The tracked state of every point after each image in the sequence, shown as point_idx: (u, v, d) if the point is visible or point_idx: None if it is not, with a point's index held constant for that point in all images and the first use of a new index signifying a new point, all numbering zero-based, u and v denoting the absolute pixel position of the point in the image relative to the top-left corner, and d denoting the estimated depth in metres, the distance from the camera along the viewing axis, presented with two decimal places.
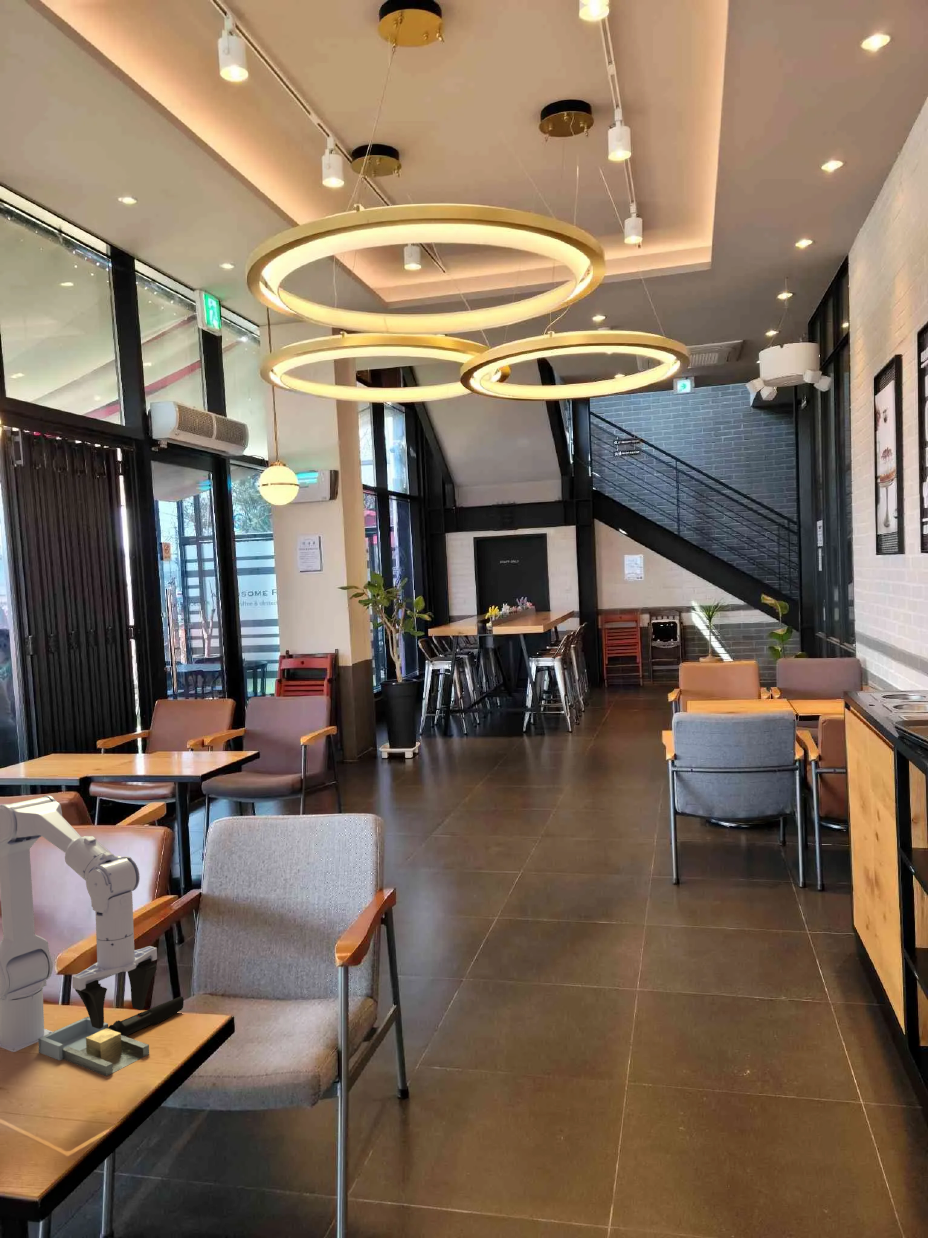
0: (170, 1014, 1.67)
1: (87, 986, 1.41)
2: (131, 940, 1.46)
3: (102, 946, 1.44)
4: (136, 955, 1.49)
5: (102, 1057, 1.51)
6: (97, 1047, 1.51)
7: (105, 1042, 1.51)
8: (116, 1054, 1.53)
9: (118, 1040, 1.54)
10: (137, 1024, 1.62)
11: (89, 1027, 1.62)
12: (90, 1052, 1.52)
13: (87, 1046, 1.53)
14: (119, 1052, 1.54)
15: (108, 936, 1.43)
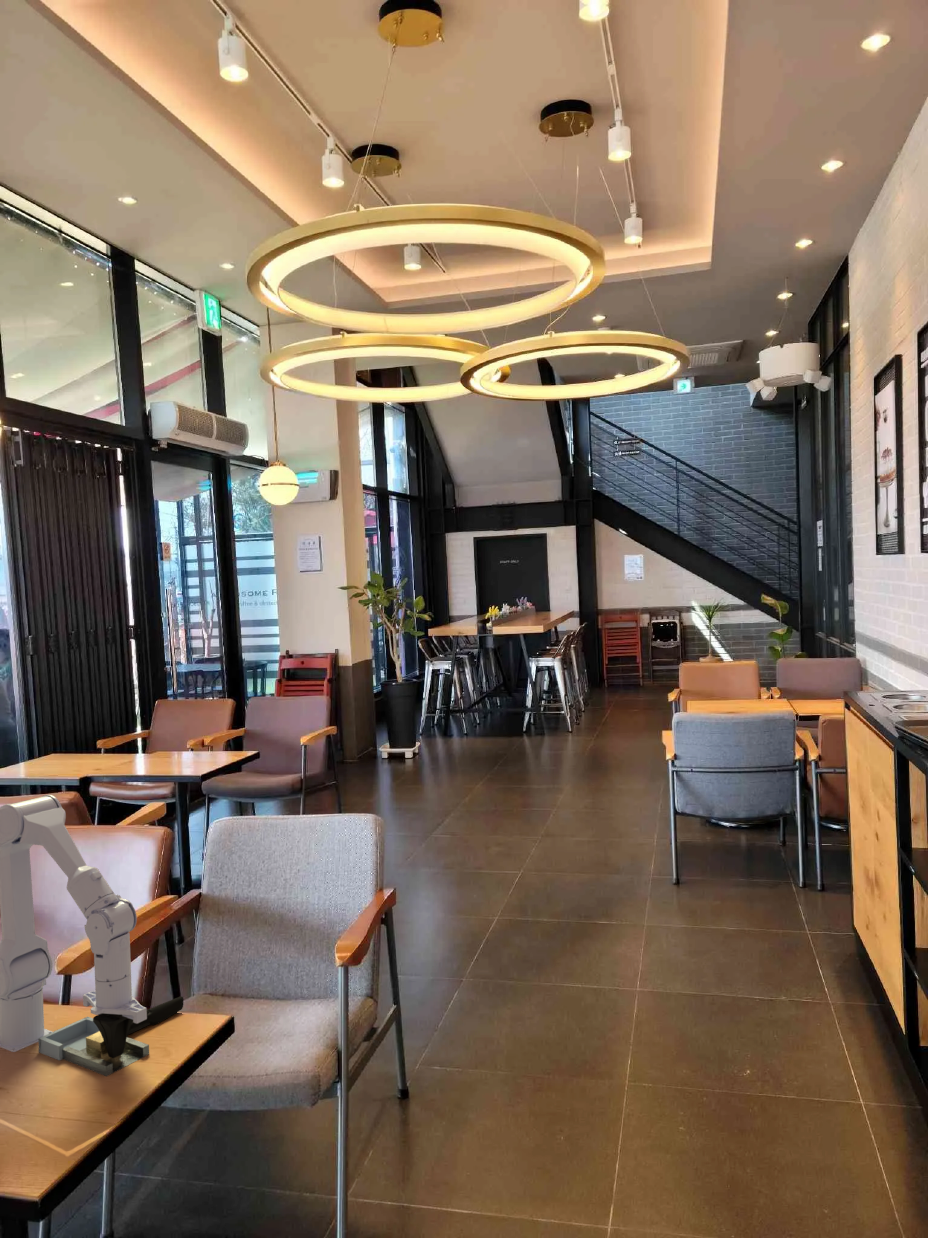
0: (170, 1014, 1.67)
1: None
2: (104, 987, 1.49)
3: None
4: (127, 1007, 1.49)
5: (102, 1057, 1.51)
6: (97, 1047, 1.51)
7: None
8: None
9: None
10: (137, 1023, 1.62)
11: (89, 1027, 1.62)
12: (90, 1052, 1.52)
13: (87, 1046, 1.53)
14: None
15: (108, 977, 1.49)
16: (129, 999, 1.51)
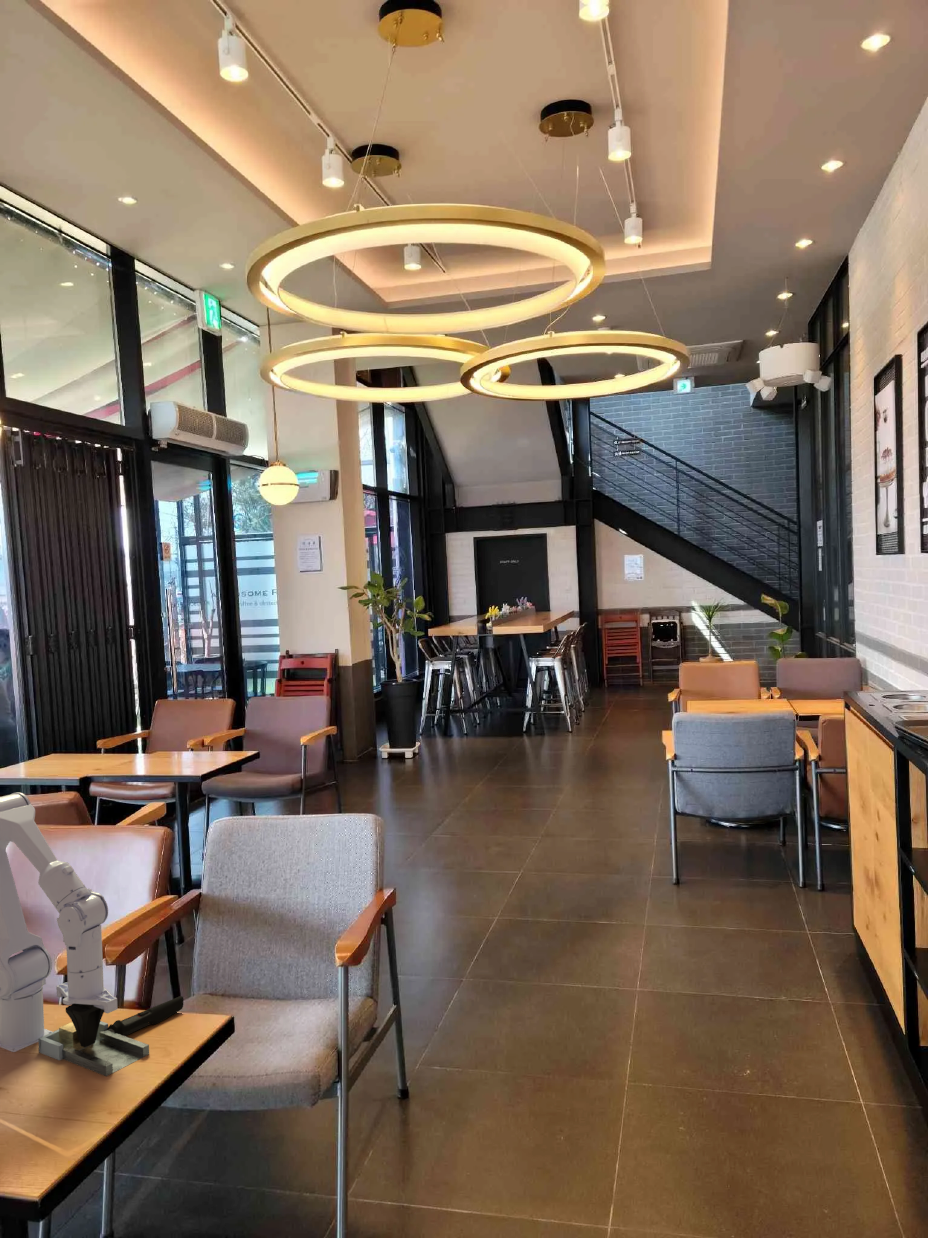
0: (170, 1014, 1.67)
1: None
2: (76, 978, 1.53)
3: None
4: (98, 998, 1.54)
5: (74, 1046, 1.55)
6: (69, 1036, 1.55)
7: None
8: None
9: None
10: (137, 1023, 1.62)
11: None
12: (63, 1042, 1.56)
13: (60, 1036, 1.57)
14: None
15: (81, 968, 1.53)
16: (101, 990, 1.55)
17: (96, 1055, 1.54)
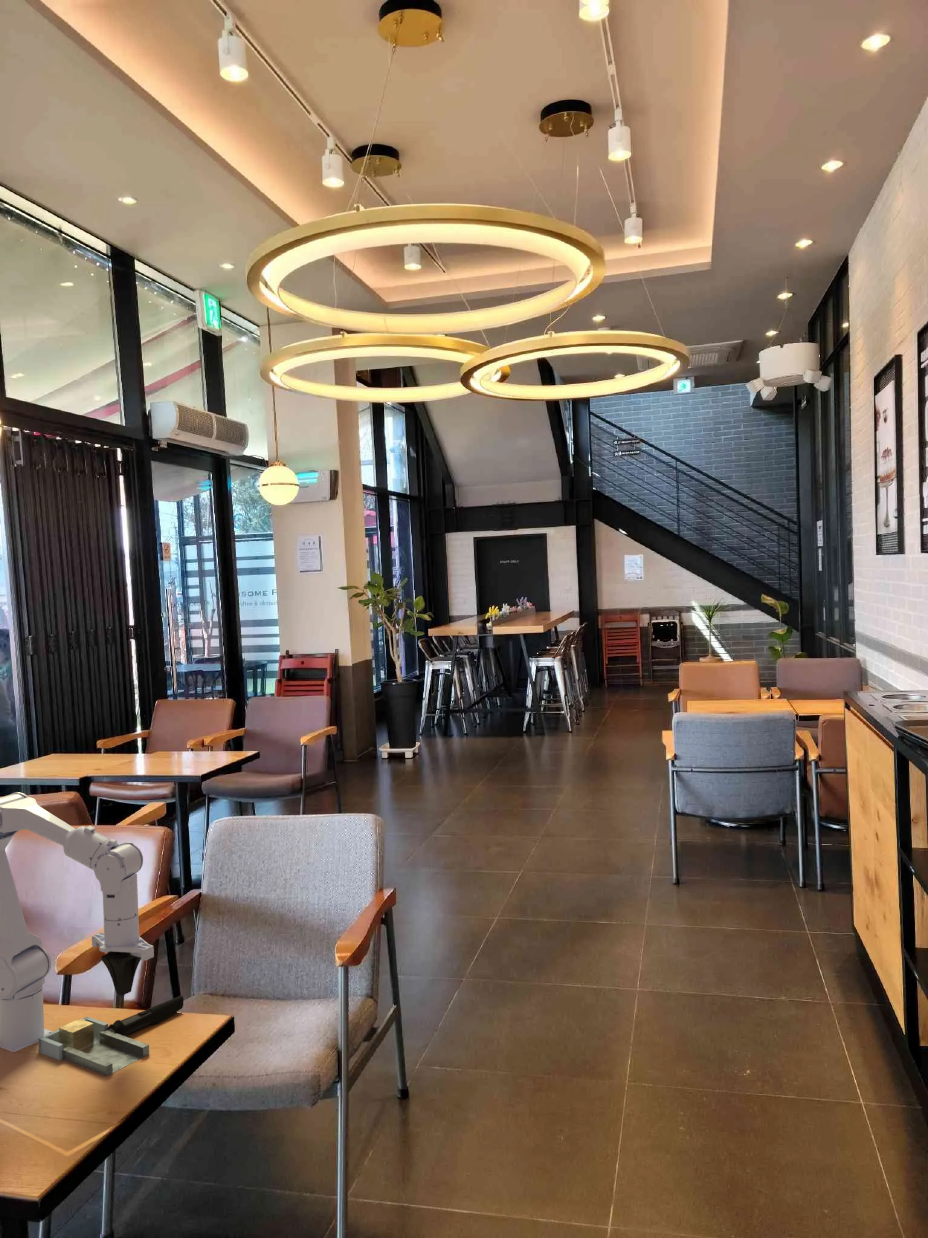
0: (170, 1013, 1.67)
1: (97, 946, 1.59)
2: (112, 926, 1.54)
3: None
4: (134, 946, 1.54)
5: (74, 1046, 1.55)
6: (69, 1036, 1.55)
7: (77, 1032, 1.56)
8: (88, 1044, 1.57)
9: (90, 1030, 1.58)
10: (137, 1023, 1.62)
11: None
12: (63, 1042, 1.56)
13: (60, 1036, 1.57)
14: (92, 1041, 1.58)
15: (120, 916, 1.54)
16: (137, 938, 1.56)
17: (96, 1055, 1.54)
